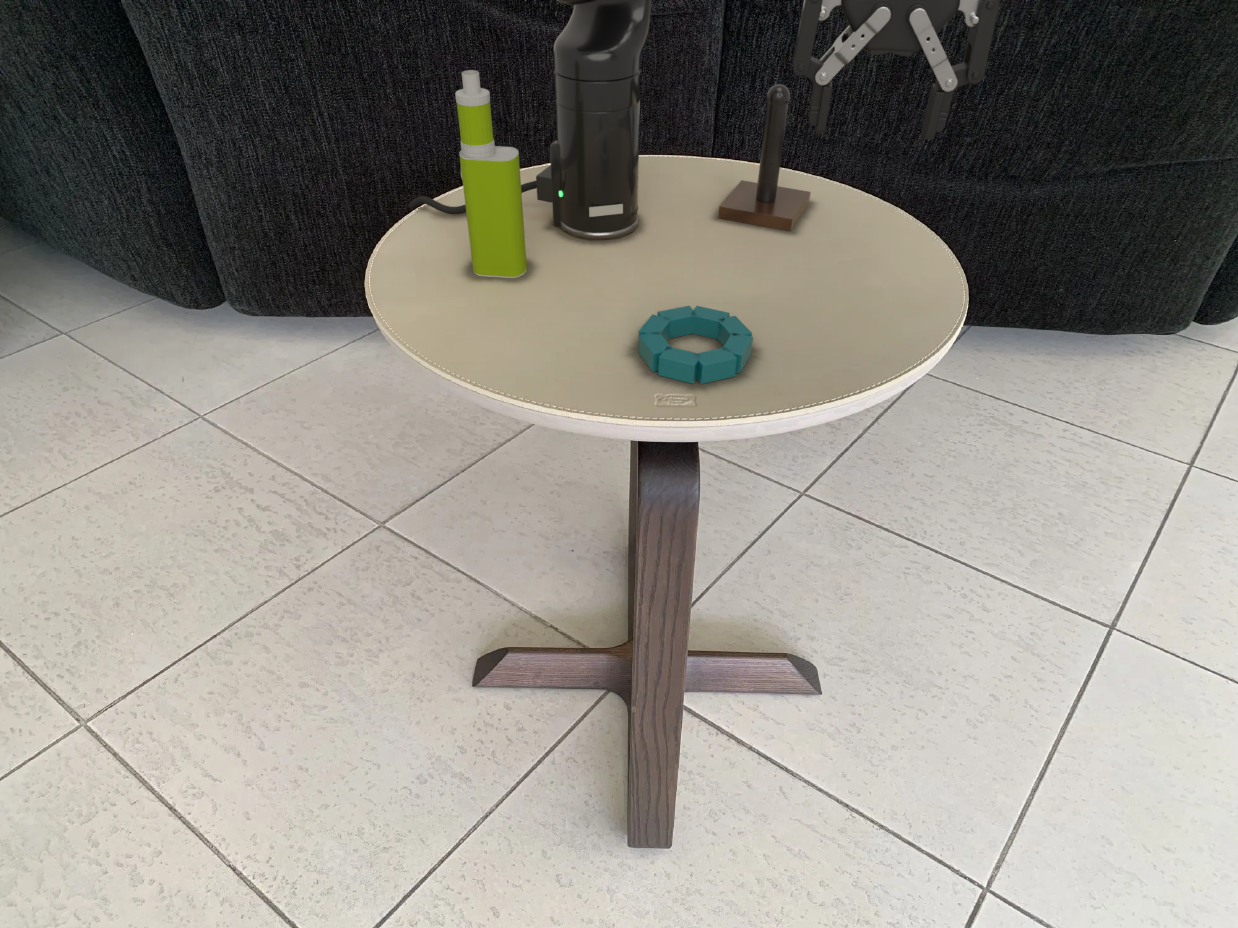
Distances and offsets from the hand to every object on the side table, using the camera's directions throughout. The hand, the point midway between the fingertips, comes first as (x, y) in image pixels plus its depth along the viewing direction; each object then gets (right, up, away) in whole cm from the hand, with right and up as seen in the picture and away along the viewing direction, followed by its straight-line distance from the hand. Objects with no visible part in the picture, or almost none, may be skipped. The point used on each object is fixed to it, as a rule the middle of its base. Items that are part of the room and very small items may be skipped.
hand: (872, 133), depth 68 cm
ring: (-14, -16, +10) cm, 24 cm away
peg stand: (-3, +4, +35) cm, 36 cm away
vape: (-34, -6, +23) cm, 41 cm away
